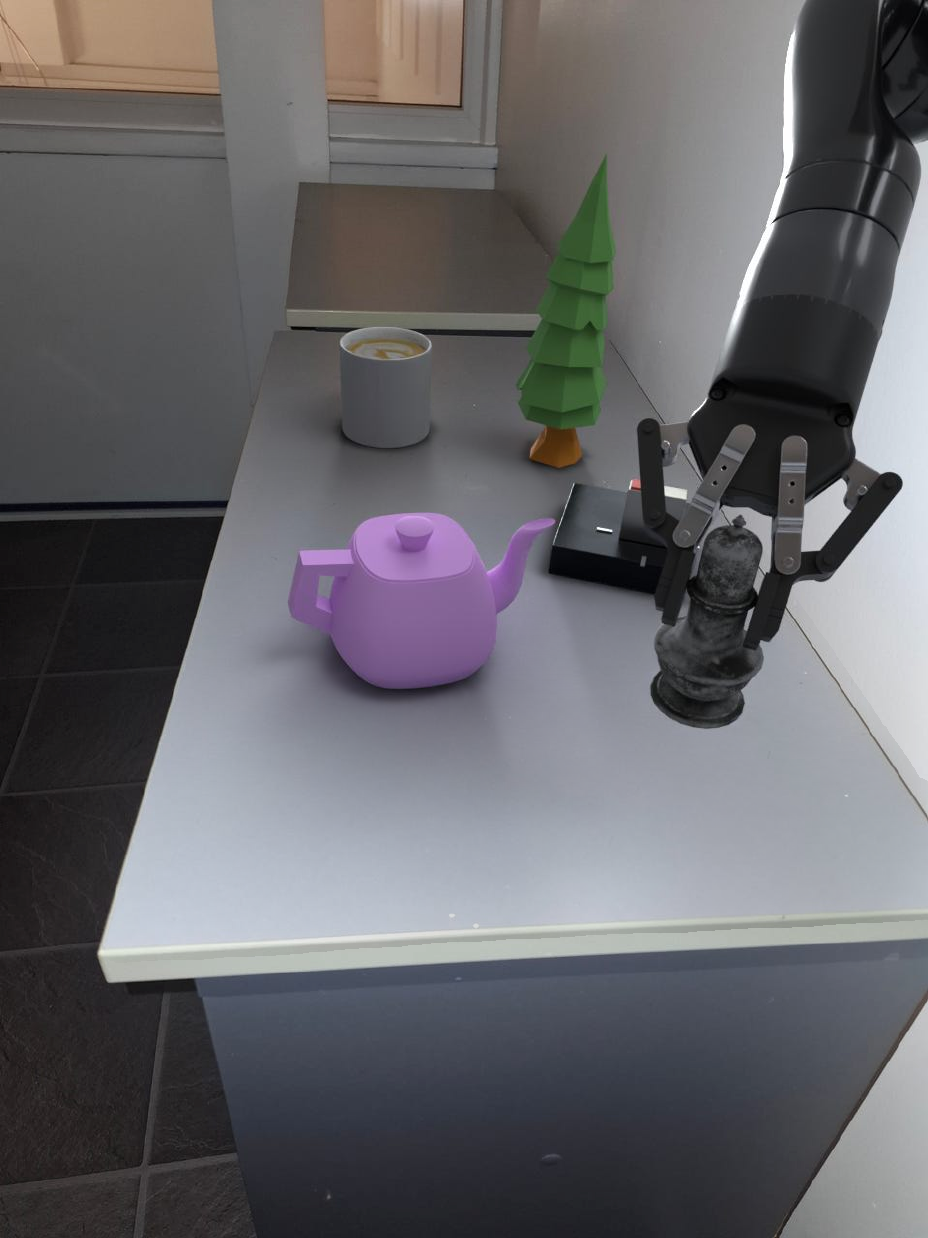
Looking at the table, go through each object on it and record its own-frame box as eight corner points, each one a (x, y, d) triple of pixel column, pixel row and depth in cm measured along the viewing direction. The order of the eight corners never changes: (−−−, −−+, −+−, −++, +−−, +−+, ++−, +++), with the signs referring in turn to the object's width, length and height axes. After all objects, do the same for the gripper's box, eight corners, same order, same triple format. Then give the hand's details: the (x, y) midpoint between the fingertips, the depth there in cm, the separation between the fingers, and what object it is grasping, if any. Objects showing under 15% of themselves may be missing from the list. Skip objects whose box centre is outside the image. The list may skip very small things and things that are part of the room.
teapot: (565, 682, 65) (585, 562, 59) (301, 716, 61) (290, 590, 54) (515, 582, 76) (528, 469, 69) (285, 604, 71) (275, 487, 64)
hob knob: (676, 538, 77) (688, 487, 74) (674, 548, 76) (687, 497, 72) (621, 528, 78) (631, 477, 75) (618, 538, 76) (628, 486, 73)
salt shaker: (666, 650, 52) (702, 474, 45) (762, 684, 50) (817, 505, 42) (628, 707, 48) (661, 525, 41) (731, 747, 46) (785, 561, 38)
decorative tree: (611, 463, 94) (665, 159, 76) (545, 483, 90) (585, 166, 72) (555, 428, 101) (593, 140, 82) (491, 446, 96) (515, 145, 78)
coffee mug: (436, 445, 95) (440, 358, 89) (347, 450, 93) (344, 361, 87) (416, 396, 106) (417, 315, 99) (335, 399, 104) (331, 316, 97)
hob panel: (696, 531, 84) (703, 503, 82) (688, 604, 74) (696, 575, 72) (570, 508, 86) (574, 481, 84) (546, 576, 76) (550, 547, 74)
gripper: (671, 265, 44) (568, 583, 42) (971, 316, 40) (869, 668, 38) (672, 336, 51) (584, 609, 49) (927, 385, 47) (839, 683, 45)
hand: (709, 633), depth 44 cm, fingers closed on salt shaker, 3 cm apart
